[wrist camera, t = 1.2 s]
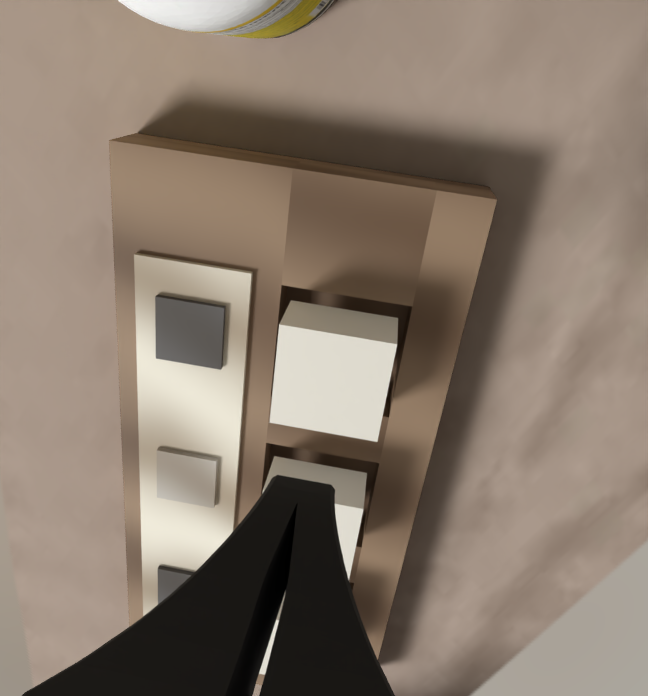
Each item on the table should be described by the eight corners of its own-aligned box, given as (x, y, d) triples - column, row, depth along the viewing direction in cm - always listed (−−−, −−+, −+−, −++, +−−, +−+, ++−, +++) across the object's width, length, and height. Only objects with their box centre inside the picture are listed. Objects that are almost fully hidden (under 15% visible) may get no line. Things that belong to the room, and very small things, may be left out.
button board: (368, 668, 30) (365, 714, 28) (146, 623, 31) (127, 665, 29) (488, 186, 19) (499, 202, 17) (135, 133, 20) (102, 141, 18)
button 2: (379, 409, 21) (377, 441, 19) (281, 392, 21) (269, 422, 19) (398, 317, 19) (397, 344, 17) (290, 300, 19) (278, 324, 18)
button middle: (353, 542, 24) (348, 581, 22) (266, 525, 24) (255, 563, 22) (367, 473, 22) (363, 509, 20) (274, 456, 22) (262, 490, 20)
